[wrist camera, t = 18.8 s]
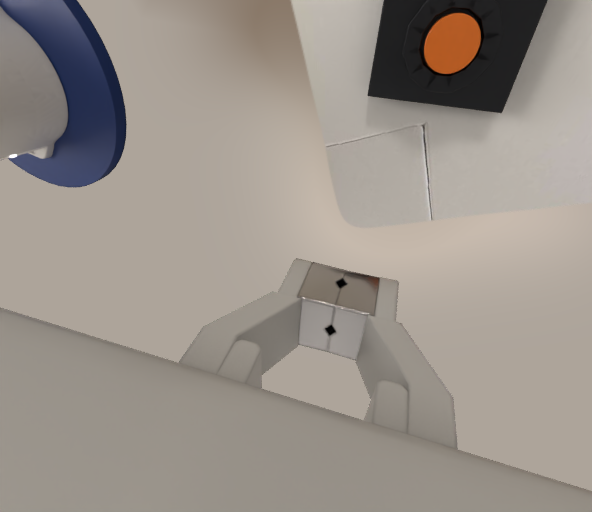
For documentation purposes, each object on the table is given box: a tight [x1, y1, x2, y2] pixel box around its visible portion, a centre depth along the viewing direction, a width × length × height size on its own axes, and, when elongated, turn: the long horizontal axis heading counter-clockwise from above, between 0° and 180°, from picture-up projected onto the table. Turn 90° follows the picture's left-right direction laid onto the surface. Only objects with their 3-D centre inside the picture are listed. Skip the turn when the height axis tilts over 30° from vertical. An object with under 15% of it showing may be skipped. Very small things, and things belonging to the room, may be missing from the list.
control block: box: [368, 0, 547, 113], centre depth 26 cm, size 11×9×4 cm
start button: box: [424, 13, 481, 74], centre depth 24 cm, size 4×4×2 cm
